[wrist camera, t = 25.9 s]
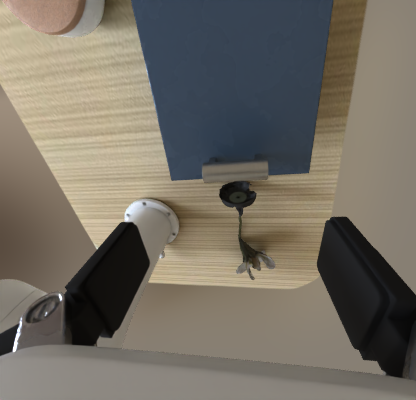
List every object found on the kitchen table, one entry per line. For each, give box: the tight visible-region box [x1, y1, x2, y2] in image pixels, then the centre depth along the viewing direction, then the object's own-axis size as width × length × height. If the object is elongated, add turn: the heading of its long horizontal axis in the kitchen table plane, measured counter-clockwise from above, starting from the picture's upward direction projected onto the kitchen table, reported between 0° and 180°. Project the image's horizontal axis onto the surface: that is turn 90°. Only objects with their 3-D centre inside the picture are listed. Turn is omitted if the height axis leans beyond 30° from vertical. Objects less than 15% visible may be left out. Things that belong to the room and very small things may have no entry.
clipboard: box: [131, 0, 333, 183], centre depth 16 cm, size 16×15×5 cm
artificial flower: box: [219, 181, 275, 280], centre depth 40 cm, size 9×22×10 cm, turn 9°
